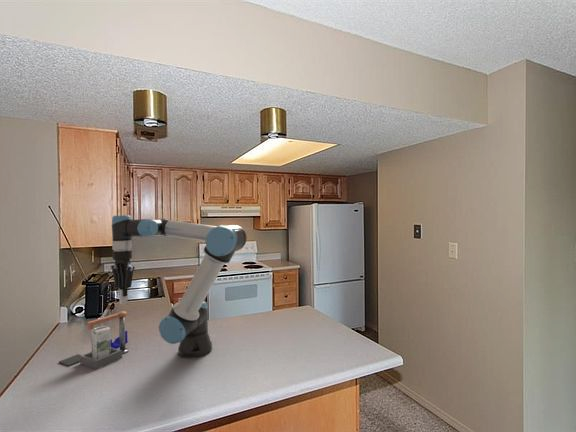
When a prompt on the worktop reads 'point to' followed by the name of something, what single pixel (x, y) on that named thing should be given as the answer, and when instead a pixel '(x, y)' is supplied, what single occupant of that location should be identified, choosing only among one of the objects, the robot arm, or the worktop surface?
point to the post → (122, 335)
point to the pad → (71, 360)
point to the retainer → (105, 319)
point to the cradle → (101, 362)
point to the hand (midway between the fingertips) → (123, 303)
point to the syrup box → (100, 342)
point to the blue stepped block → (116, 342)
